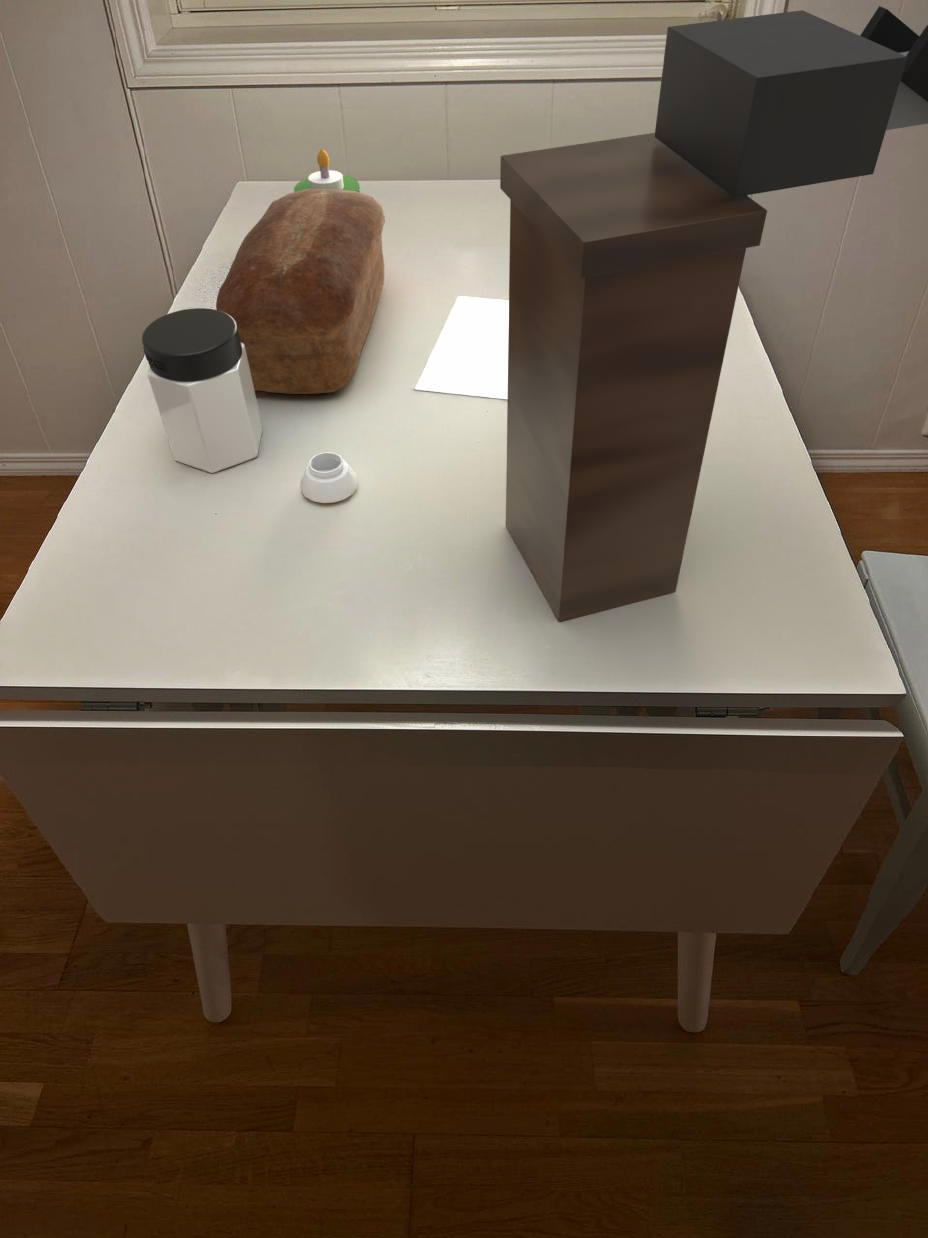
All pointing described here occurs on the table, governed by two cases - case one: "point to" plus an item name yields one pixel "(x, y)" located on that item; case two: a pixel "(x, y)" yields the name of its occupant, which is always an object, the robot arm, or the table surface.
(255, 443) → the jar
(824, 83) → the sledgehammer head
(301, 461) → the table surface
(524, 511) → the stand
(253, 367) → the bread
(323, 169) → the candle
